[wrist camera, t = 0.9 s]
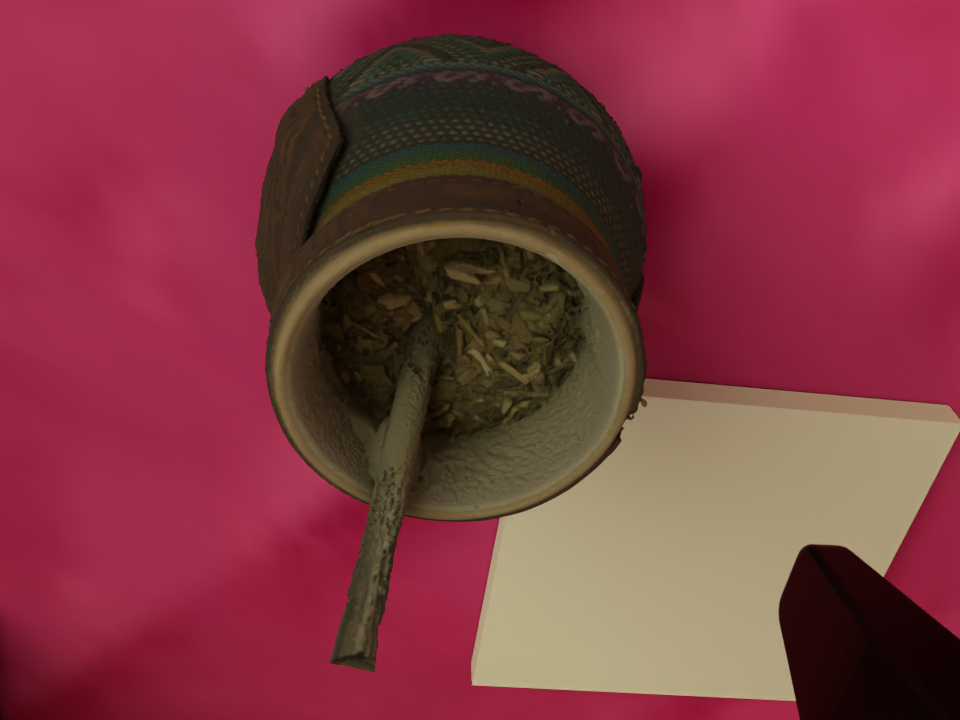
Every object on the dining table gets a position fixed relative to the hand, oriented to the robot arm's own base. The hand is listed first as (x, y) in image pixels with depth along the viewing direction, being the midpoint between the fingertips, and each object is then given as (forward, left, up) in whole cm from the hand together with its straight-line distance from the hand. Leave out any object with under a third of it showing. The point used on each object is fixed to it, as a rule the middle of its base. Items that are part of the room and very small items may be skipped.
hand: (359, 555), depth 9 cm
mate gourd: (-1, -1, -12) cm, 12 cm away
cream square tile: (-11, -9, -12) cm, 19 cm away
